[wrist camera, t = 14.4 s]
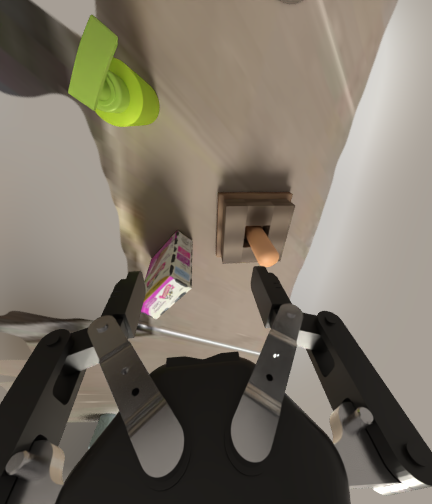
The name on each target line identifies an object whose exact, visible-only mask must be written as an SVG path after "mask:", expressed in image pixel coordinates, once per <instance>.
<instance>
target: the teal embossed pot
mask: <svg viewBox="0 0 432 504" xmlns="http://www.w3.org/2000/svg"><path fill="white" fill-rule="evenodd" d="M115 416H116V414H103V415H101V416H100V419H99V421H98V425H97V427H96V429H95V432H94V435H93V437H92V440H91V442H90V445H89V447H88V448H90V447H91V446H92V445H93V443H94V442H95V441H96V440H97V438H98V437H99V436H100V435H101V433H102V432H103V431H104V430H105V428H106V427H107V426H108V425H109V423H110V422H111V421H112V420H113V418H114V417H115Z"/></svg>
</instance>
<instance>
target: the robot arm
mask: <svg viewBox="0 0 432 504" xmlns="http://www.w3.org/2000/svg"><path fill="white" fill-rule="evenodd" d="M280 1H282V2H284V3H287V4H295V3H298V2H301V1H303V0H280ZM251 290H252V293H253V295H254V298H255V301H256V304H257V307H258V309H259V312H260V315H261V318H262V321H263V323H264V326H265V328H271V330H270V332H269V334H268V336H267V339H266V341H265V344H264V346H263V348H262V351H261V353H260V356H259V358H258V360H257V363H256V364H254V363H253V362H251V361H249V360H247V359H245V358H241V357H239V353H238V352H228V353H220V354H217V355H215V356H212V357H209V358H207V359H197V358H191V357H185V356H184V357H173V358H167V361H166V364H165V365H162V366H160V367H158V368H157V369H155V370H154V371H153V372H152V373H150V374H149V373H148V371H147V370H146V368H145V366H144V365H143V363H142V361H141V360H140V358H139V356H138V355H137V353H136V351H135V350H134V348H133V346H132V344H131V343H130V342H129V341H128V338H134V336H135V333H136V329H137V325H138V321H139V318H140V314H141V310H142V306H143V302H144V299H145V294H146V288H145V283H144V279H143V275H142V272H141V271H132V272H129V273H128V275H127V278H126V279H121V280H120V281H119V282H118V283H117V284H116V285H115V287H114V290H113V292H112V294H111V296H110V298H109V300H108V303H107V304H106V307H105V309H104V311H103V313H102V315H101V317H99V318H97V319H96V320H94V321H93V322H92V323H91V324H90V325H89V327H88V328H86V329H83V330H80V331H77V332H73V333H70V332H69V331H68V330H65V329H59V330H55V331H53V332H51V333H49V334H47V335H46V336H44V337H43V338H42V339H41V340H40V342H39V343H38V344H37V346H36V348H35V349H34V351H33V352H32V354H31V356H30V357H29V359H28V361H27V362H26V364H25V365H24V367H23V369H22V370H21V372H20V373H19V375H18V377H17V378H16V380H15V381H14V383H13V385H12V386H11V388H10V389H9V391H8V393H7V394H6V396H5V397H4V399H3V401H2V402H1V404H0V504H351V503H350V492H349V489H357V488H370V487H372V488H373V489H374V490H375V491H376V492H378V493H380V494H382V495H393V494H398V493H403V492H407V491H412V490H417V489H422V488H427V487H431V486H432V452H431V450H430V449H429V447H428V446H427V444H426V443H425V442H424V440H423V439H422V437H421V436H420V434H419V433H418V431H417V430H416V428H415V427H414V425H413V424H412V423H411V421H410V420H409V418H408V417H407V415H406V414H405V412H404V411H403V410H402V408H401V407H400V405H399V404H398V402H397V401H396V399H395V398H394V396H393V395H392V393H391V392H390V390H389V389H388V388H387V386H386V385H385V383H384V382H383V380H382V379H381V377H380V376H379V374H378V373H377V372H376V370H375V369H374V367H373V366H372V364H371V363H370V361H369V360H368V358H367V357H366V355H365V354H364V352H363V351H362V350H361V348H360V347H359V346H358V344H357V342H356V341H355V339H354V338H353V336H352V335H351V334H350V332H349V331H348V329H347V328H346V326H345V325H344V323H343V322H342V320H341V319H340V318H339V317H338V316H337V315H335V314H333V313H331V312H328V311H322V312H319V313H318V315H317V316H316V315H311V314H306V313H303V312H302V311H301V310H300V309H299V308H298V307H297V306H295V305H293V304H292V303H291V301H290V300H289V298H288V296H287V294H286V292H285V291H284V289H283V288H282V285H281V284H280V281H279V280H278V278H277V277H276V276H275V275H274V274H273V273H268V271H267V270H266V268H265V266H254V268H253V273H252V278H251ZM297 346H298V347H302V348H306V350H307V352H308V355H309V357H310V359H311V361H312V364H313V366H314V368H315V370H316V373H317V375H318V377H319V380H320V382H321V384H322V386H323V389H324V391H325V393H326V395H327V398H328V400H329V402H330V404H331V407H332V409H333V412H332V414H331V416H330V425H331V429H332V433H333V442H332V441H331V439H330V438H329V437H328V436H327V434H326V433H325V432H324V431H323V430H322V429H321V428H320V427H319V426H318V425H317V424H316V423H315V422H314V421H313V420H312V419H311V418H310V417H309V416H308V415H307V414H306V413H304V411H303V410H302V409H301V408H299V406H298V405H297V404H296V403H295V402H294V401H293V400H292V399H291V398H290V397H289V396H287V394H286V393H285V390H286V386H287V382H288V378H289V374H290V370H291V367H292V362H293V359H294V355H295V351H296V347H297ZM96 364H100V366H101V368H102V371H103V373H104V376H105V378H106V380H107V383H108V385H109V387H110V390H111V392H112V395H113V397H114V399H115V402H116V404H117V406H118V409H119V412H118V413H117V415H116V416H115V417H114V418H113V420H112V421H111V422H110V423H109V425H108V426H107V427H106V428H105V430H104V431H103V432H102V433H101V435H100V436H99V437H98V438H97V440H96V441H95V442H94V443H93V445H92V446H91V447H90V448H89V450H88V451H87V452H86V453H85V455H84V456H83V457H82V459H81V460H80V461H79V462H78V463H77V465H76V466H75V467H74V469H73V470H72V471H71V473H70V474H69V476H68V477H67V479H66V481H65V482H64V483H63V479H62V470H63V465H64V459H65V457H64V452H63V450H62V449H61V448H59V447H58V445H59V442H60V440H61V437H62V434H63V432H64V429H65V426H66V423H67V421H68V418H69V415H70V412H71V410H72V407H73V404H74V401H75V399H76V396H77V393H78V391H79V388H80V385H81V382H82V380H83V377H84V374H85V371H86V369H87V368H89V367H91V366H94V365H96Z"/></svg>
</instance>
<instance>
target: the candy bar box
mask: <svg viewBox="0 0 432 504" xmlns="http://www.w3.org/2000/svg"><path fill="white" fill-rule="evenodd" d="M192 242H193V241H192V240H191V239H189V238H188V237H186V236H185V235H184V234H182V233H181V232H179V231H178V230H177V231H176V232H175V233H174V234H173V236H172V237H171V238H170V239H169V240H168V241H167V242H166V244H165V245H164V246H163V247H162V248H161V249H160V250H159V251H158V252H157V253H156V255H155V256H154V257H153V258H152V259H151V262H150V265H149V269H148V272H147V275H146V278H145V281H144V283H145V288H146V294H145V299H144V302H143V306H142V310H141V313H143V314H145V315H148V316H150V317H152V318H154V319H157V318H158V317H160V316H161V315H162V314H163V313H164V312H165V311H166V310H168V309H169V308H170V307H171V306H172V305H173V304H174V303H176V302H177V301H178V300H179V299H180V298H181V297H182V296H183V295H185V294H186V293H187V292H188V291H189V290H190V289H191V288H192V287H191V286H192Z"/></svg>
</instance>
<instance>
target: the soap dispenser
mask: <svg viewBox="0 0 432 504" xmlns="http://www.w3.org/2000/svg"><path fill="white" fill-rule="evenodd" d="M117 45H118V37H117V36H116V35H115V34H114V33H113V32H112V31H111V30H109V29H108V28H107V27H106V26H105V25H104V24H103V23H101V22H100V21H99V20H98V19H97V18H96V17H95V16H93V15H91V16H90V18H89V20H88V22H87V25H86V28H85V30H84V33H83V35H82V38H81V41H80V45H79V48H78V51H77V55H76V59H75V63H74V67H73V72H72V76H71V81H70V86H69V91H68V93H69V94H70V95H72V96H73V97H75V98H76V99H78V100H79V101H80V102H82V103H83V104H85V105H86V106H88V107H89V108H91V109H92V110H94V111H95V112H96V113H97V114H98V115H99V116H100V117H101V118H102V119H103V120H105V121H106V122H108V123H110V124H112V125H114V126H119V127H126V126H139V125H148V124H151V123H153V122H154V121H155V120H156V118H157V116H158V113H159V101H158V97H157V95H156V93H155V91H154V90H153V88H152V87H151V86H150V85H149V84H148V83H146V82H145V81H144V80H143V79H142V78H141V77H140V76H138V75H137V74H136V73H135V72H134V71H133V70H131V69H130V68H129V67H128V66H127V65H126V64H124V63H123V62H122V61H120V60H118V59H116V58H114V57H113V55H114V53H115V51H116V48H117Z"/></svg>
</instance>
